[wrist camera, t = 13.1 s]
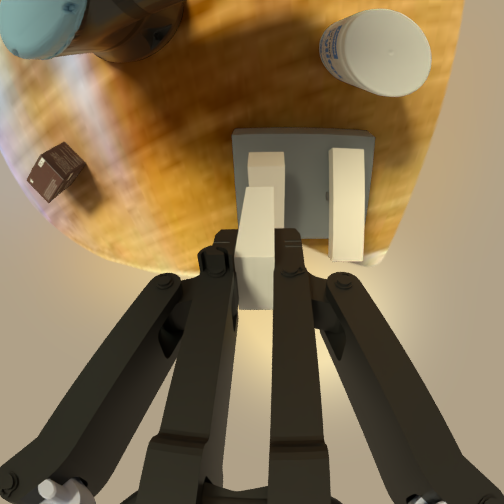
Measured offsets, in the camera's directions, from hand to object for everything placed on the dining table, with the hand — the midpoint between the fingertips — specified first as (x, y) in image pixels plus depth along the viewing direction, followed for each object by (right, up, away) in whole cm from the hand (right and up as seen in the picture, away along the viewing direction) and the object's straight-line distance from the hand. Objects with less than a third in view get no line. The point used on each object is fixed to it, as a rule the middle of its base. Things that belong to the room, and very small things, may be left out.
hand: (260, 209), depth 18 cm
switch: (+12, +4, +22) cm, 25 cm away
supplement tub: (+13, +25, +17) cm, 33 cm away
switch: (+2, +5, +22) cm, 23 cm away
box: (-32, +13, +28) cm, 45 cm away
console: (+7, +9, +28) cm, 30 cm away
